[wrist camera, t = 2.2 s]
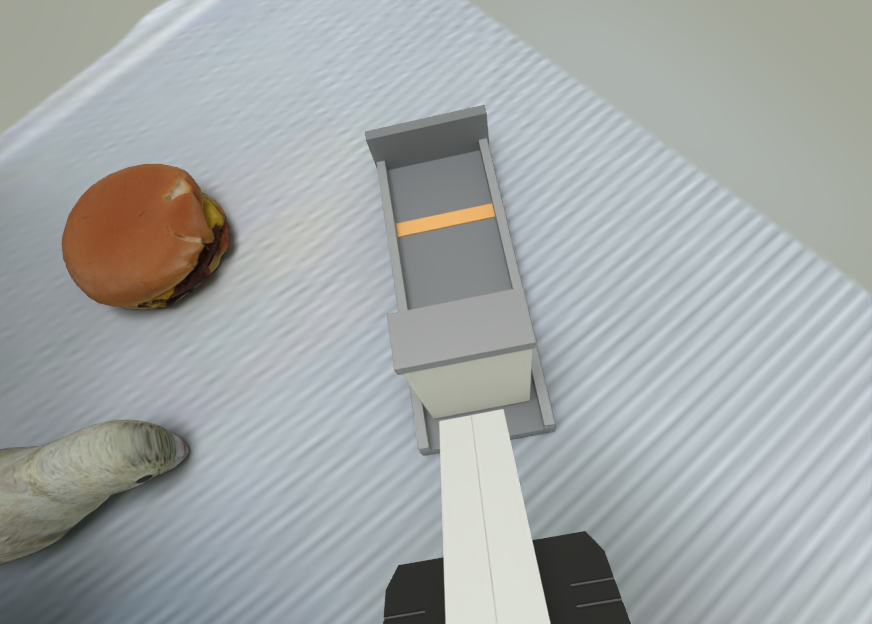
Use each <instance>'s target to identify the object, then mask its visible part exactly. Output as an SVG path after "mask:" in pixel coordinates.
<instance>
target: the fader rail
mask: <svg viewBox="0 0 872 624" xmlns="http://www.w3.org/2000/svg"><path fill="white" fill-rule="evenodd" d="M365 136H366V141H367V144H368V146H369V149H370V151H371V154H372V157H373V159H374V162H375V164H376V167H377V169H378V176H379V183H380V189H381V196H382V203H383V210H384V217H385V223H386V230H387V237H388V244H389V251H390V257H391V264H392V271H393V278H394V285H395V291H396V298H397V305H398V312H402V311H407V310H412V309H417V308H422V307H427V306H432V305H437V304H442V303H447V302H452V301H456V300H461V299H466V298H471V297H476V296H481V295H486V294H491V293H496V292H501V291H506V290H511V289H516V288H521V287H522V283H521V279H520V275H519V270H518V266H517V262H516V258H515V254H514V249H513V245H512V241H511V237H510V233H509V228H508V224H507V220H506V216H505V211H504V207H503V202H502V199H501V195H500V191H499V186H498V182H497V178H496V174H495V170H494V165H493V161H492V157H491V153H490V149H489V138H488V126H487V114H486V109H485V105H482V106H477V107H473V108H468V109H464V110H459V111H455V112H451V113H446V114H442V115H437V116H433V117H428V118H424V119H419V120H415V121H410V122H406V123H401V124H397V125H392V126H388V127H384V128H379V129H375V130H370V131H366V132H365ZM409 387H410V393H411V400H412V407H413V414H414V421H415V427H416V434H417V441H418V448H419V450H420V453H421V454H422V455H423V456H424V455H430V454H435V453H440V430H439V421H443V420H448V419H453V418H459V417H464V416H469V415H474V414H480V413H485V412H490V411H495V410H501V409H504V414H505V418H506V423H507V428H508V432H509V437H510V440H511V439H516V438H521V437H527V436H532V435H538V434H543V433H548V432H554V431H555V428H556V426H555V421H554V417H553V413H552V409H551V405H550V400H549V396H548V392H547V388H546V384H545V380H544V375H543V371H542V367H541V363H540V359H539V354H538V350H537V346H536V348H534V349H532V363H531V384H530V401H525V402H520V403H515V404H509V405H504V406H499V407H494V408H488V409H483V410H478V411H472V412H467V413H462V414H457V415H451V416H446V417H441V418H435V419H433V417H432V416H431V414H430V413H429V412H428V410H427V409H426V407H425V406H424V404H423V403H422V402H421V400H420V399H419V397H418V396H417V395H416V393H415V392H414V390H413V389H412V388H411V386H410V385H409Z"/></svg>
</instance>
